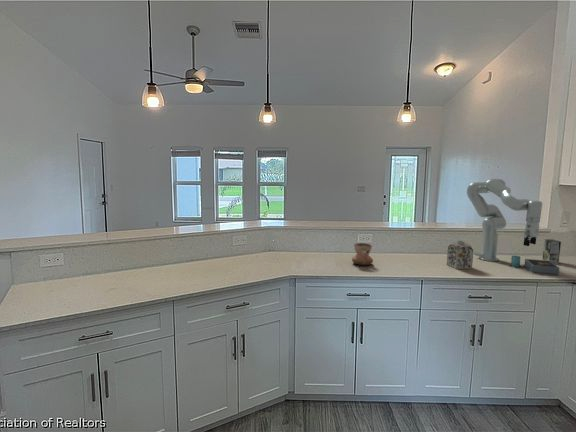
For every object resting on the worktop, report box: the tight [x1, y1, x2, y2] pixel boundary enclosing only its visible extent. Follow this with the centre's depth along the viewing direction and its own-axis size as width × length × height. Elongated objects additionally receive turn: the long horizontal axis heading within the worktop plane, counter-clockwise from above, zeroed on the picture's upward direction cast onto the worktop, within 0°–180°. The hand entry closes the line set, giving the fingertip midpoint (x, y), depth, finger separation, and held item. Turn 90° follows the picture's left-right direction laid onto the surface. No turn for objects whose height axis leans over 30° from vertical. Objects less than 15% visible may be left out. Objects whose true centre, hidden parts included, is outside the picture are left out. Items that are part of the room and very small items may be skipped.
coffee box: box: [542, 238, 562, 265], centre depth 239 cm, size 9×6×16 cm
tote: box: [524, 258, 560, 276], centre depth 220 cm, size 18×14×5 cm
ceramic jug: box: [351, 242, 374, 266], centre depth 235 cm, size 18×14×14 cm
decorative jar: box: [446, 240, 474, 270], centre depth 227 cm, size 12×12×18 cm
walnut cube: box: [537, 262, 550, 267], centre depth 216 cm, size 5×5×5 cm
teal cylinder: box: [510, 255, 521, 268], centre depth 229 cm, size 5×5×7 cm
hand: (529, 244), depth 221 cm, fingers open, 9 cm apart
